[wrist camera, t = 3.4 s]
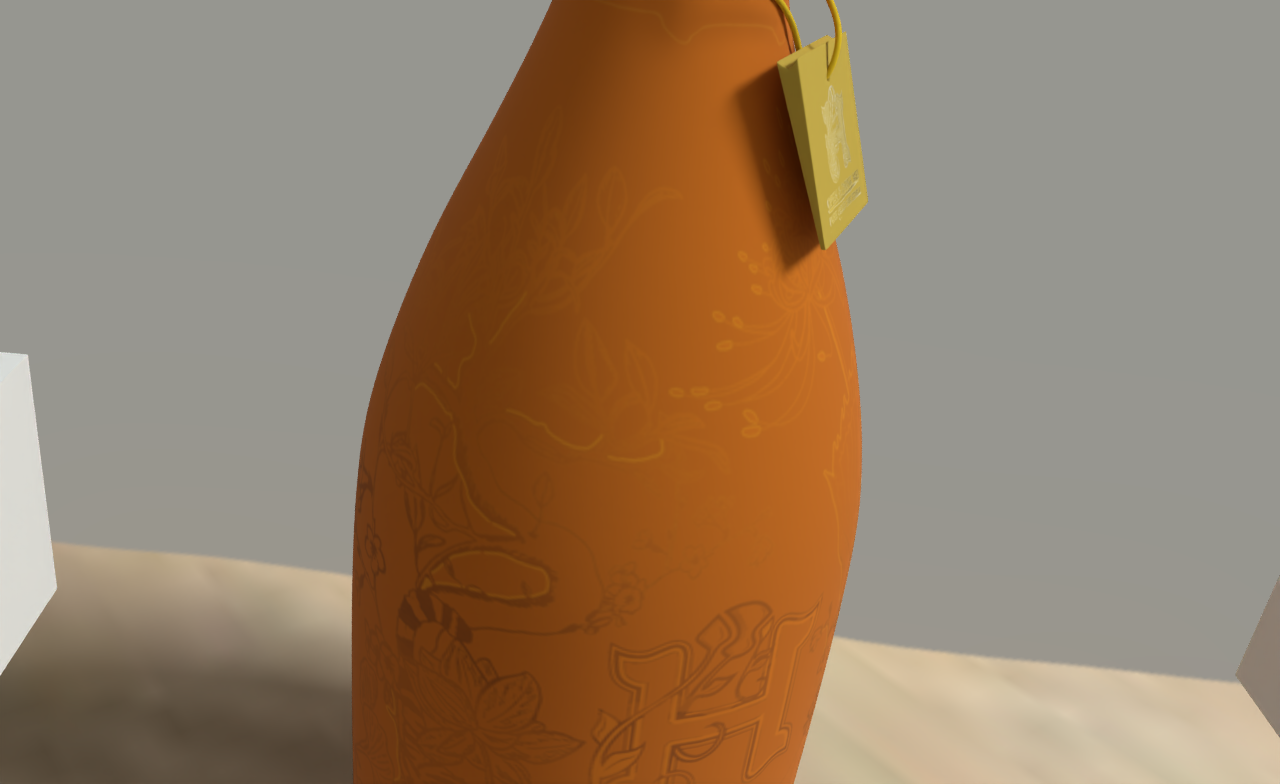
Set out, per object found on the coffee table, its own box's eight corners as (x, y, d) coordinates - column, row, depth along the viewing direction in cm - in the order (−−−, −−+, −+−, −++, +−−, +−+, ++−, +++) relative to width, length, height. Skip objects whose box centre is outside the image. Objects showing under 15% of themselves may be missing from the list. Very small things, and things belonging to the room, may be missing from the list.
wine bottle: (442, 1148, 22) (644, -1267, 9) (294, 784, 30) (278, -847, 16) (846, 956, 27) (1380, -791, 14) (634, 683, 35) (844, -635, 21)
